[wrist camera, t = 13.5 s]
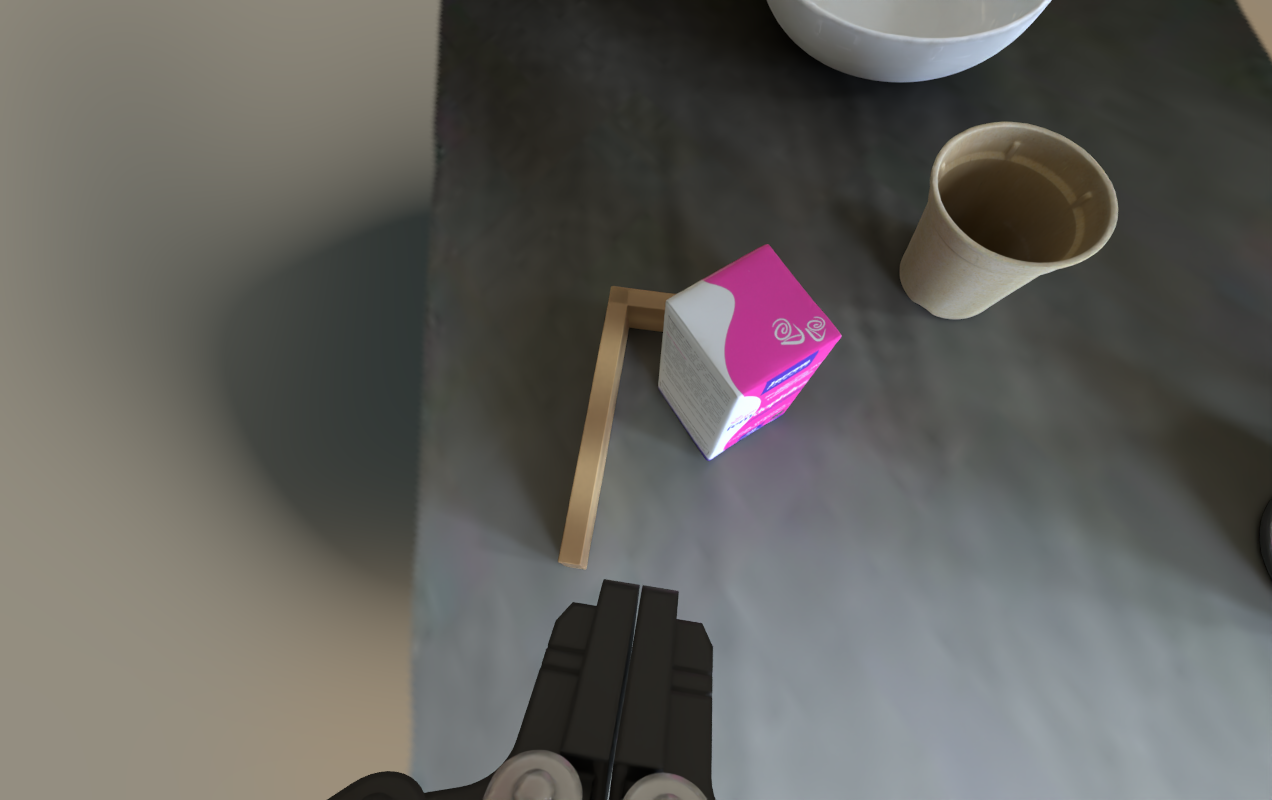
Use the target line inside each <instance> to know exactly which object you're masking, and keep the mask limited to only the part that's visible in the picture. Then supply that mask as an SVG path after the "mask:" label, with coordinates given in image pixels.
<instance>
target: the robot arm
mask: <svg viewBox="0 0 1272 800" xmlns="http://www.w3.org/2000/svg"><path fill="white" fill-rule="evenodd" d="M1260 546H1261V551H1262V556H1263V559H1264V563H1265V565H1266V568H1267V571H1268V573H1269V575H1270V577H1271V579H1272V499H1271V501H1270V502H1269V504H1268V505H1267V507H1266V509H1265V511H1264V513H1263V516H1262V520H1261V525H1260ZM639 587H640V585H637V584H631V583H624V582H618V581H612V580H606V579H604V581H603V583H602V587H601V591H600V595H599V599H598V603H597V606H593V605H587V604H581V603H575V602H573V603H572V604H571V605H570V606H569V607H568V608H567V609H566V610H565V611H564V612H563V613H562V615H561V616H560V617H559V618H558V619H557V620H556V622H555V625H554V628H553V631H552V634H551V637H550V640H549V643H548V648H547V649H546V652H545V655H544V658H543V661H542V666H541V668H540V670H539V673H538V676H537V679H536V682H535V685H534V689H533V692H532V695H531V698H530V701H529V704H528V707H527V710H526V713H525V716H524V719H523V722H522V725H521V728H520V731H519V734H518V737H517V740H516V743H515V745H514V748H513V750H512V751H511V753H510V755H509V756H508V758H507V759H506V760H505V762H504V763H503V764H502V765H501V766H500V767H499V768H498V769H497V770H496V771H494V772H493V773H492V774H490V775H489V776H488V777H486V778H484V779H482V780H480V781H478V782H476V783H473V784H471V785H467V786H463V787H457V788H451V789H445V790H439V791H433V792H427V793H424V792H423V790H422V788H421V787H420V785H419V784H418V783H417V782H416V781H415V780H414V779H412V778H411V777H409V776H407V775H405V774H402V773H399V772H390V771H386V772H379V773H374V774H370V775H368V776H365V777H363V778H361V779H359V780H357V781H356V782H354V783H352V784H350V785H349V786H347V787H346V788H344V789H343V790H341V791H340V792H338V793H337V794H335V795H334V796H332V797H331V798H329V799H328V800H607V798H608V792H609V786H610V780H611V787H610V796H609V800H715V797H714V793H713V789H712V780H711V761H712V668H713V646H712V644H711V642H710V640H709V637H708V635H707V633H706V631H705V629H704V626H703V624H702V623H697V622H691V621H685V620H679V619H676V618H677V606H678V593H679V592H678V591H675V590H669V589H663V588H656V587H650V586H644V585H643V587H642V592H641V598H640V604H639V610H638V616H637V623H636V629H635V635H634V628H635V620H636V612H637V604H638V596H639ZM633 636H634V641H633ZM632 644H633V647H632ZM631 651H632V653H631ZM630 658H631V659H630ZM612 768H613V771H612ZM611 774H612V779H611Z"/></svg>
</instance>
